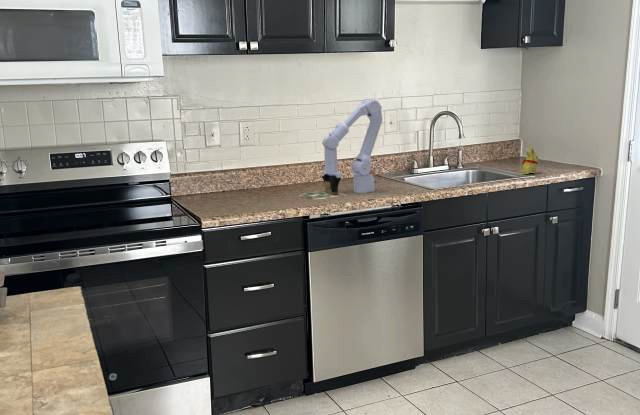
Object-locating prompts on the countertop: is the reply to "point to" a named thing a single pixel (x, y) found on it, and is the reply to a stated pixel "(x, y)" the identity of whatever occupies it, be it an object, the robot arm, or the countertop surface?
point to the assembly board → (319, 195)
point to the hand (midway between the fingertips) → (331, 191)
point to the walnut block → (329, 188)
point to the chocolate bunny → (530, 161)
